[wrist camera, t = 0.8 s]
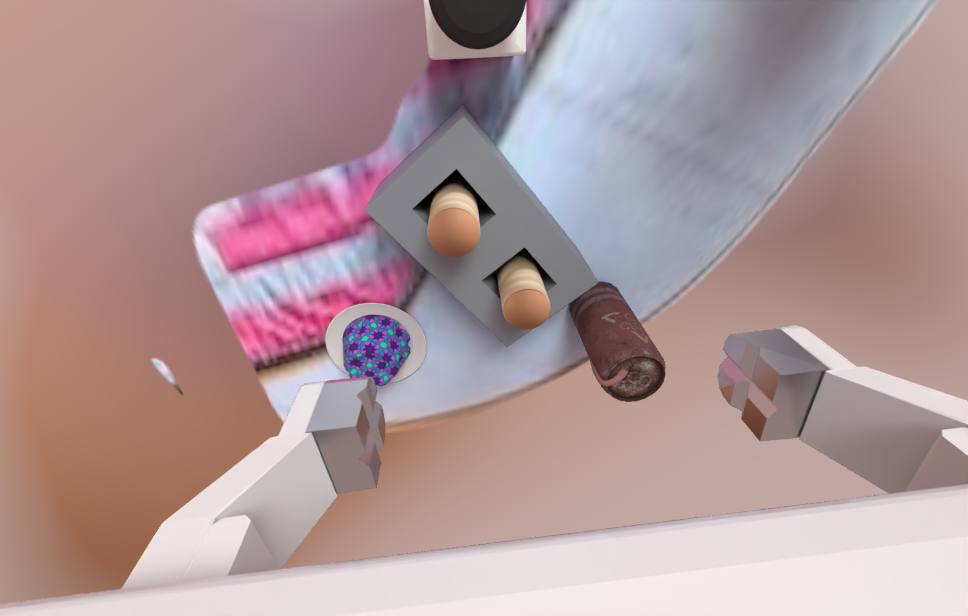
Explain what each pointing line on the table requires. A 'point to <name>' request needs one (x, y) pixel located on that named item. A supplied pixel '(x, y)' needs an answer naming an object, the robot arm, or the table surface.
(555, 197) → the table surface
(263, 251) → the table surface
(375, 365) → the pudding
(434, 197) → the peg
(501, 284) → the peg
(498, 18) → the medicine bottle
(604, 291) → the can
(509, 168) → the block
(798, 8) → the table surface
